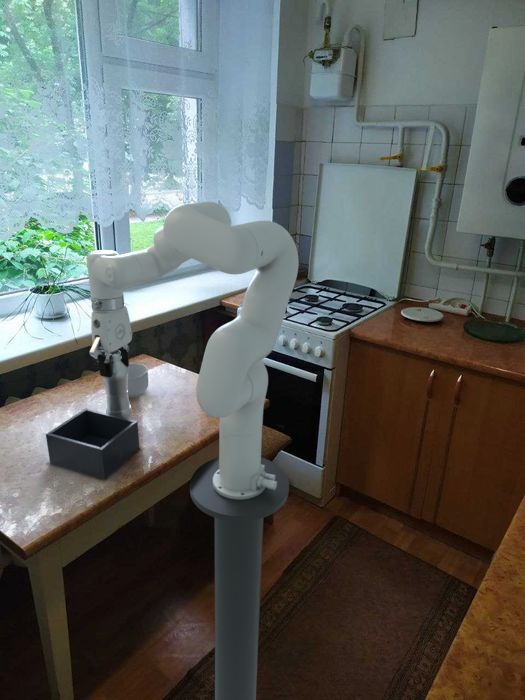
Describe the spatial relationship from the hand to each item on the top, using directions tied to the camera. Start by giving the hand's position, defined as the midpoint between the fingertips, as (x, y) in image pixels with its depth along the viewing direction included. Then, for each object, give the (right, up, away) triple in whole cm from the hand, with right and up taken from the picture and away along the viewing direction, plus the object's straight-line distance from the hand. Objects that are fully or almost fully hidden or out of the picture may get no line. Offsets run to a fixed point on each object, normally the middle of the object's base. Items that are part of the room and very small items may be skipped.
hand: (114, 370), depth 126 cm
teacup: (-3, -8, +26) cm, 28 cm away
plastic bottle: (0, -14, +6) cm, 15 cm away
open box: (-3, -21, -6) cm, 22 cm away
